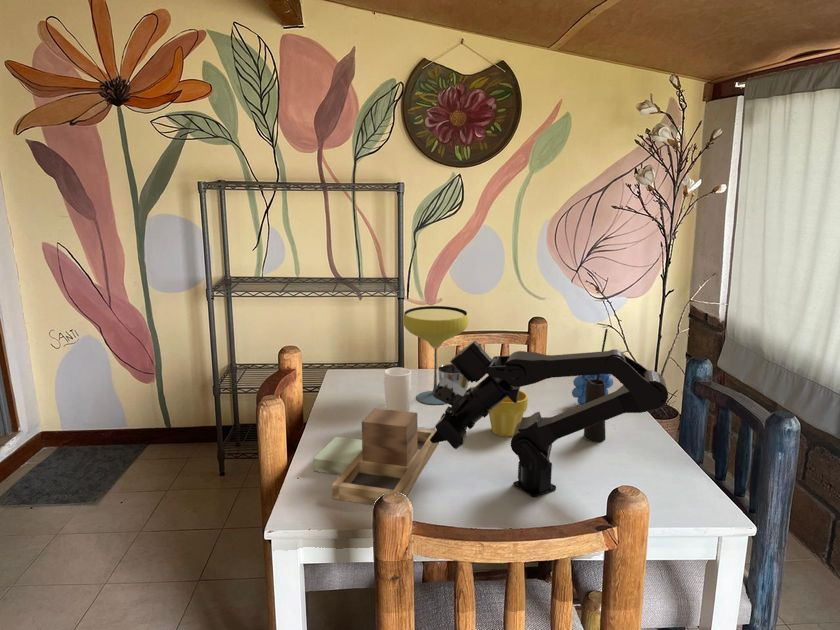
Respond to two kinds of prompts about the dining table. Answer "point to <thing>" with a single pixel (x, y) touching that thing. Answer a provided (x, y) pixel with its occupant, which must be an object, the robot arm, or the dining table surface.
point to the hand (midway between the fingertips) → (431, 441)
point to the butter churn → (593, 392)
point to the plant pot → (508, 415)
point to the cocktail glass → (435, 333)
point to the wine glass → (452, 375)
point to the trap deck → (370, 469)
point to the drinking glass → (397, 389)
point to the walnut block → (389, 437)
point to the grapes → (581, 385)
